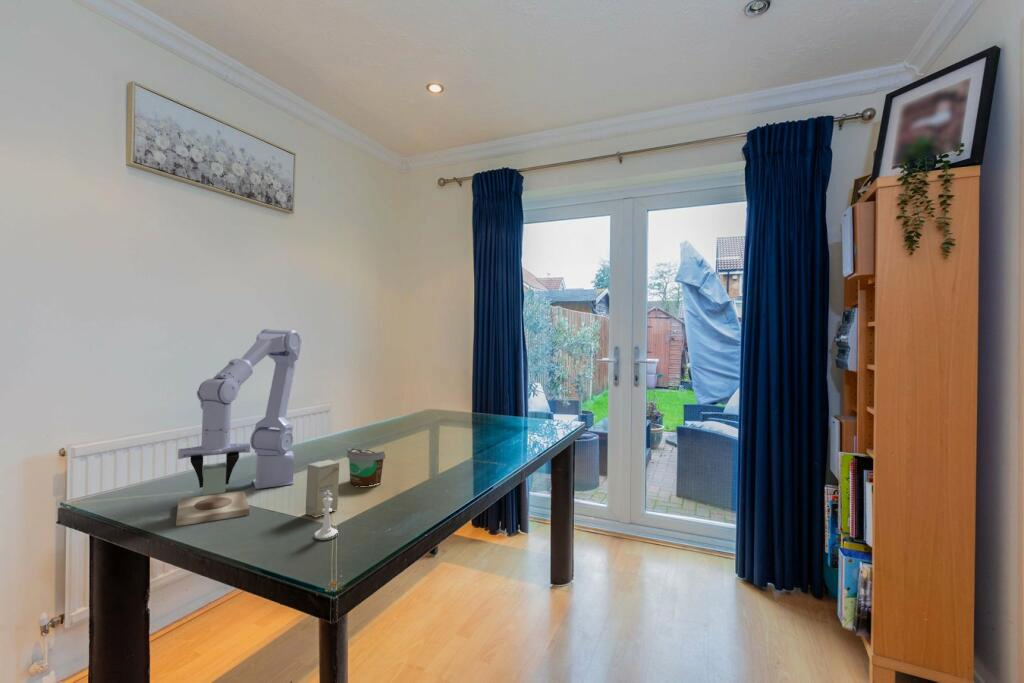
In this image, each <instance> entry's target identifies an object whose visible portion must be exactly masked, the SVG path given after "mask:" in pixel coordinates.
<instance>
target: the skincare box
mask: <svg viewBox="0 0 1024 683" xmlns="http://www.w3.org/2000/svg"><path fill="white" fill-rule="evenodd" d="M306 473H307V474H306V492H305V494H306V496H305V514H306V515H308V516H310V515H312V516H311V517H313V516H318V515H322V514H325V513H323V512H322V510H323V509H324V508H325V507H324V503H323V499H324V498H326V495H324V493H327V490H330V493H332V496H329V498H332V499H333V500H332V503H331V506H330V508H332V511H334V510H337V511H338V504H339V503H338V501H339V500H338V499H339V477H340V462H339V461H336V460H332V459H325V460H319V461H316V462H312V463H307V471H306Z"/></svg>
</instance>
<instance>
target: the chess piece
mask: <svg viewBox="0 0 1024 683" xmlns="http://www.w3.org/2000/svg"><path fill="white" fill-rule="evenodd" d="M324 495H326V498H324V499H323V503H324V507H325V508H324V509H323V510H322V512H323V513H325V515H323V517H324V518H323V521H322V522H323V523H322V527H321V528H320V529H318V530H316V531H315V533H314V535H315V537H317V538H328V537H331V536H334V535H335V534H336V533H338V534H339V530H338V529H336V528H335V527H332V526H331V517H330V514H331V513H329V512H332V508H330V506H331V503H332V500H333V499H332V498H329V496H332V493H330V490H327V493H324ZM332 513H333V512H332ZM314 535H313V536H314Z"/></svg>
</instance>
